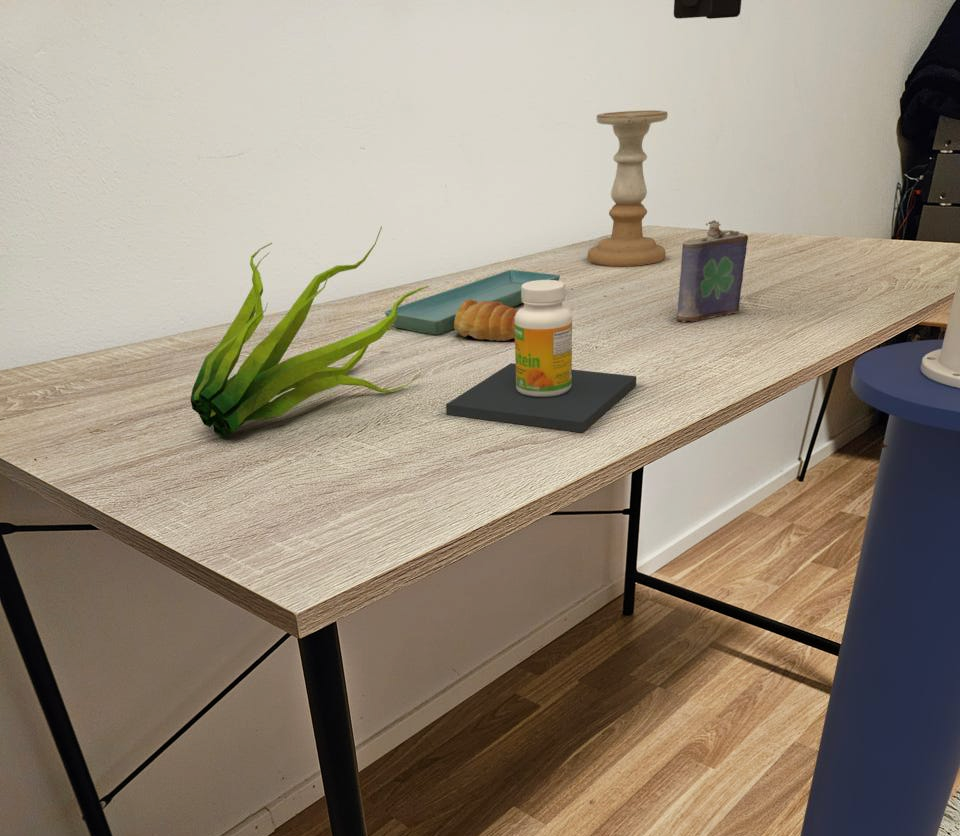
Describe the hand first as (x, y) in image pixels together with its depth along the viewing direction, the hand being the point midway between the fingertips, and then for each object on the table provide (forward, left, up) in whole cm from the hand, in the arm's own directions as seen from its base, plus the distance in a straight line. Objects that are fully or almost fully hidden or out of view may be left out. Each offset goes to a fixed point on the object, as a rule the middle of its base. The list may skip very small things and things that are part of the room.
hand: (707, 17), depth 81 cm
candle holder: (+24, -48, -31) cm, 62 cm away
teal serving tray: (+31, -11, -31) cm, 45 cm away
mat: (+8, +19, -30) cm, 37 cm away
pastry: (+24, -1, -31) cm, 39 cm away
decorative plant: (+31, +25, -31) cm, 50 cm away
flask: (+2, -17, -31) cm, 35 cm away
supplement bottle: (+8, +19, -30) cm, 36 cm away
